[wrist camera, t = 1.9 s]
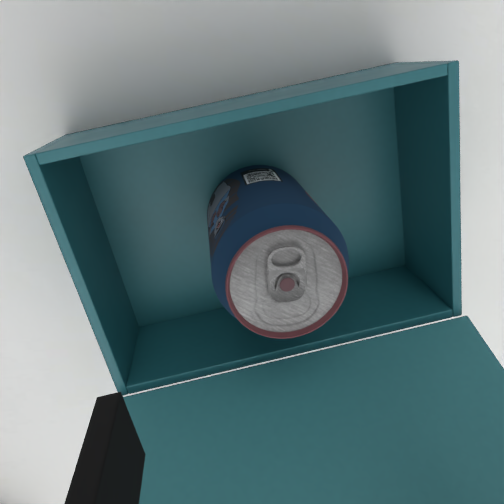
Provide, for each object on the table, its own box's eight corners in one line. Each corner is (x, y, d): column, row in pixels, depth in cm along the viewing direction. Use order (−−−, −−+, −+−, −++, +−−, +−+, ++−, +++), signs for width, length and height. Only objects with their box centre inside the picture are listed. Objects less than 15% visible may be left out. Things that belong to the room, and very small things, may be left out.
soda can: (304, 250, 33) (359, 341, 22) (211, 259, 33) (219, 358, 22) (303, 156, 30) (364, 206, 19) (201, 165, 30) (204, 221, 19)
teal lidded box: (64, 134, 29) (22, 156, 22) (396, 62, 29) (459, 60, 22) (134, 330, 35) (119, 396, 28) (409, 266, 35) (462, 315, 28)
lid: (93, 816, 15) (102, 813, 16) (701, 654, 16) (688, 656, 17) (115, 398, 27) (120, 404, 28) (467, 314, 28) (465, 322, 28)
